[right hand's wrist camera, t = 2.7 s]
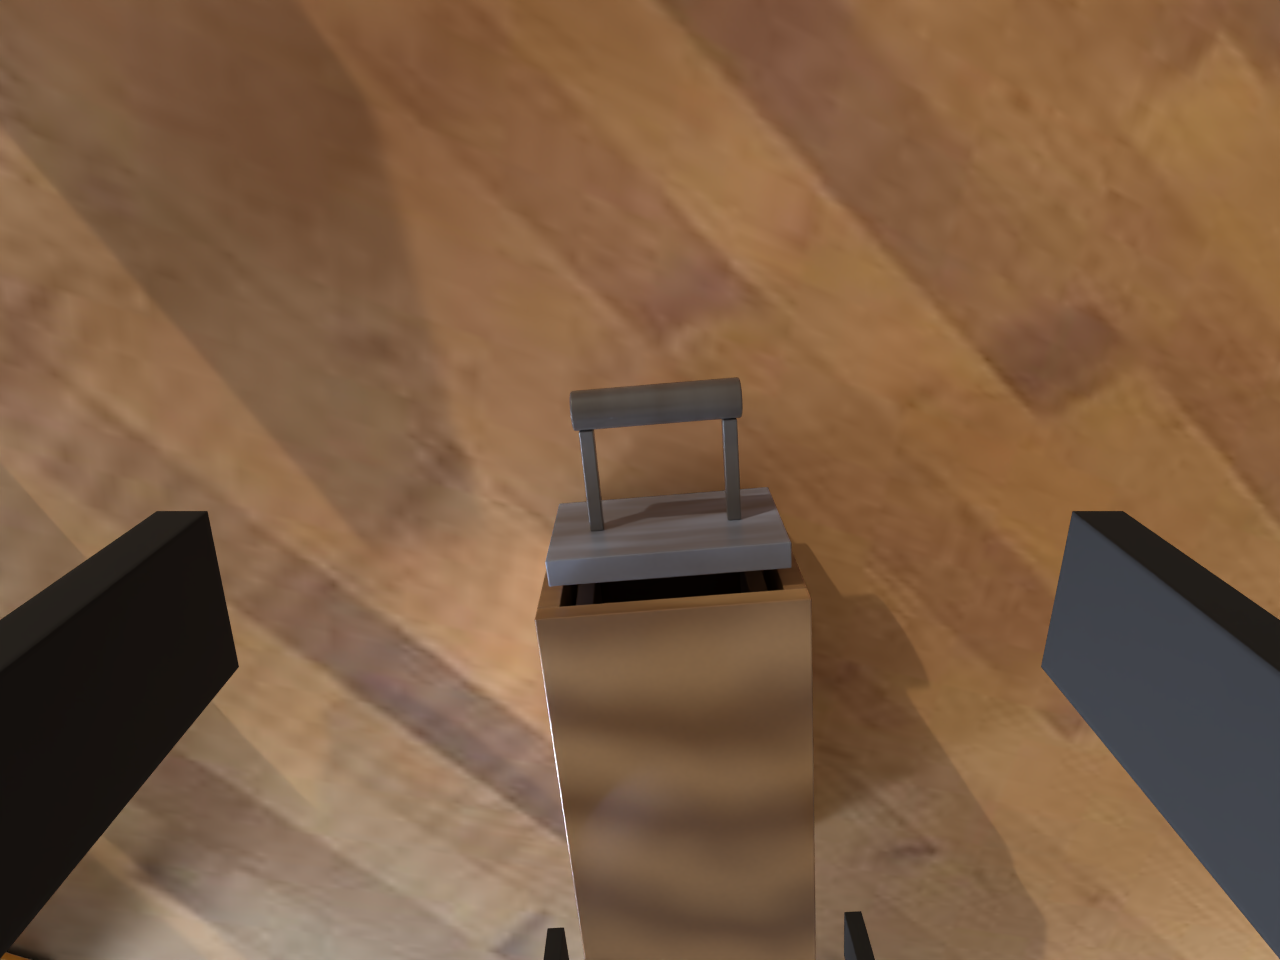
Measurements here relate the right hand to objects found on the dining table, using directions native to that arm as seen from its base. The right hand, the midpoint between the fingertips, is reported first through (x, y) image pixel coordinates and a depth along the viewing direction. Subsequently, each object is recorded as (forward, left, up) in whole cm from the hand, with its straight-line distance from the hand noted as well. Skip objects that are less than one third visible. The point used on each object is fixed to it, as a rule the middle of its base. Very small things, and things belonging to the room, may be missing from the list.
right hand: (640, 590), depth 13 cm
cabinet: (-8, -19, -26) cm, 33 cm away
